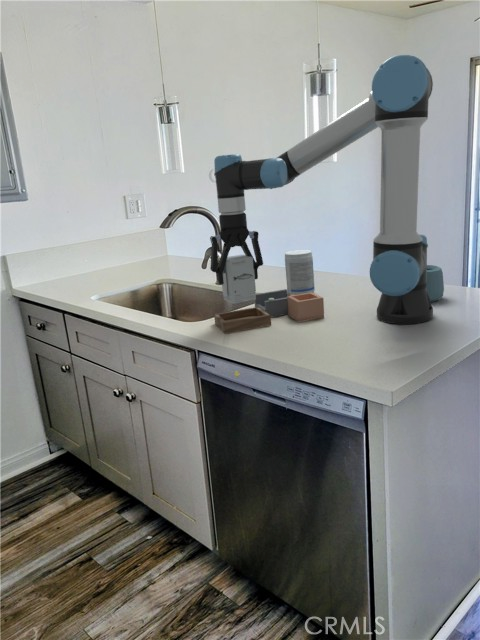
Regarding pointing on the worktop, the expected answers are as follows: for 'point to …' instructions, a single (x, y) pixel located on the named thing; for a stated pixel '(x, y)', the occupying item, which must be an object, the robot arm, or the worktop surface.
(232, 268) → the supplement box
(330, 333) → the worktop surface
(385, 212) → the robot arm
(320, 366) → the worktop surface
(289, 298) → the square terracotta planter
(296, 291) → the supplement tub
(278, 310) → the cradle
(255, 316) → the trough
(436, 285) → the mug
